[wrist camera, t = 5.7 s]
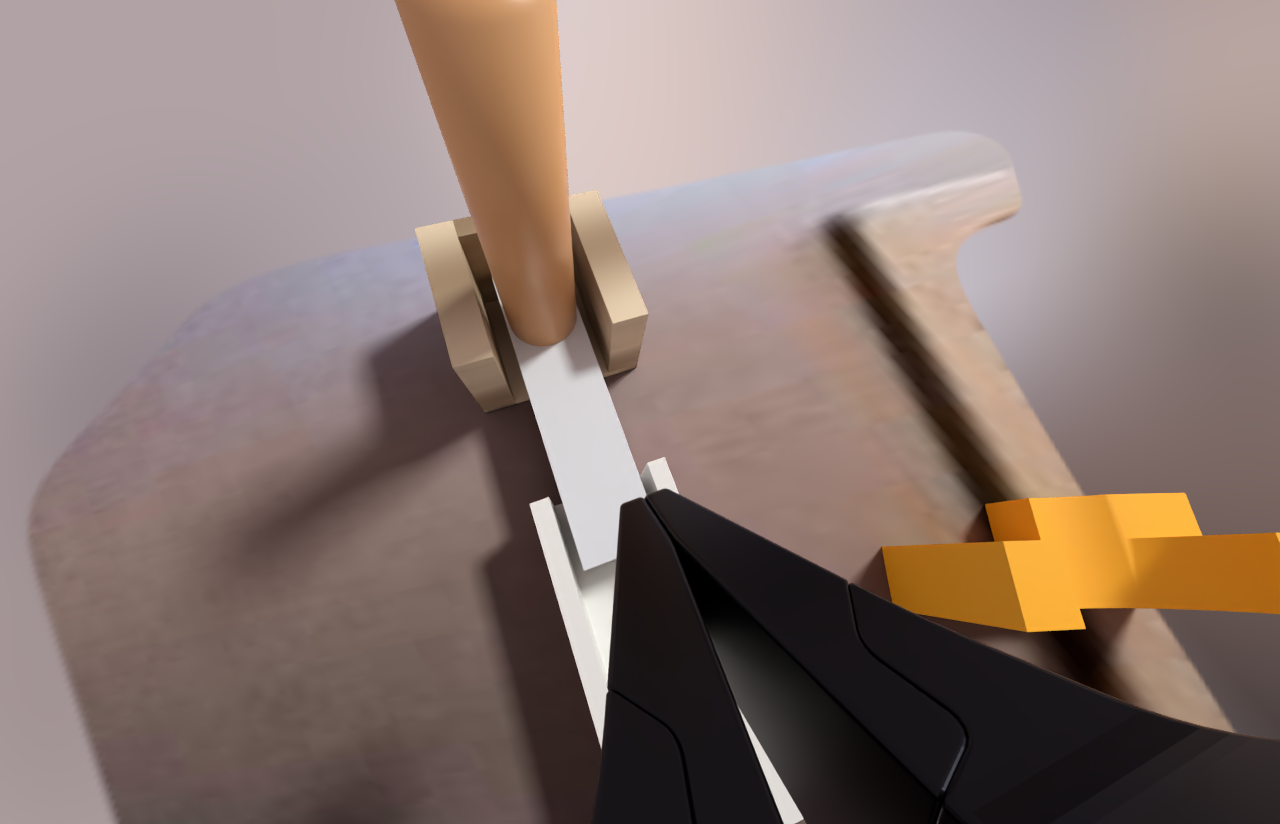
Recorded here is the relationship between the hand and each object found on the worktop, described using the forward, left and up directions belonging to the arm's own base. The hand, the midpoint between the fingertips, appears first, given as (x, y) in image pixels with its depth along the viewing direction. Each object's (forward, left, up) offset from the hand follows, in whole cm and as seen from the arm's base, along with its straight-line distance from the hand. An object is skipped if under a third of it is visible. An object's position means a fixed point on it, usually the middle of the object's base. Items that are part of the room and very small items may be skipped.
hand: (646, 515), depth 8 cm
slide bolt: (+5, -2, -11) cm, 12 cm away
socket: (+9, -4, -12) cm, 16 cm away
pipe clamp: (-13, -13, -12) cm, 22 cm away
